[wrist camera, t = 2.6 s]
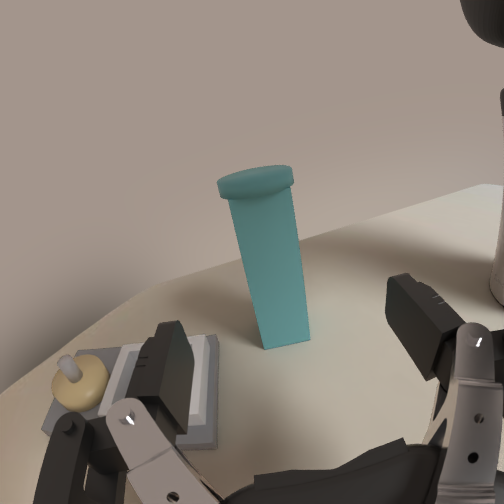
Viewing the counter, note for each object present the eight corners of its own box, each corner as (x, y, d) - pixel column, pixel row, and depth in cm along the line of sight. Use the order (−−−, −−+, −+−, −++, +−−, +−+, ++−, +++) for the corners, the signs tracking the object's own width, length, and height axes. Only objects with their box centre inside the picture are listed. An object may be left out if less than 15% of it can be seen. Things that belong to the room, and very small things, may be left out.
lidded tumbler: (305, 307, 27) (284, 162, 21) (318, 342, 23) (299, 172, 17) (253, 318, 27) (218, 175, 21) (257, 356, 23) (214, 189, 17)
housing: (219, 342, 25) (205, 303, 23) (217, 448, 15) (193, 416, 13) (82, 356, 25) (61, 325, 24) (47, 435, 16) (15, 404, 14)
